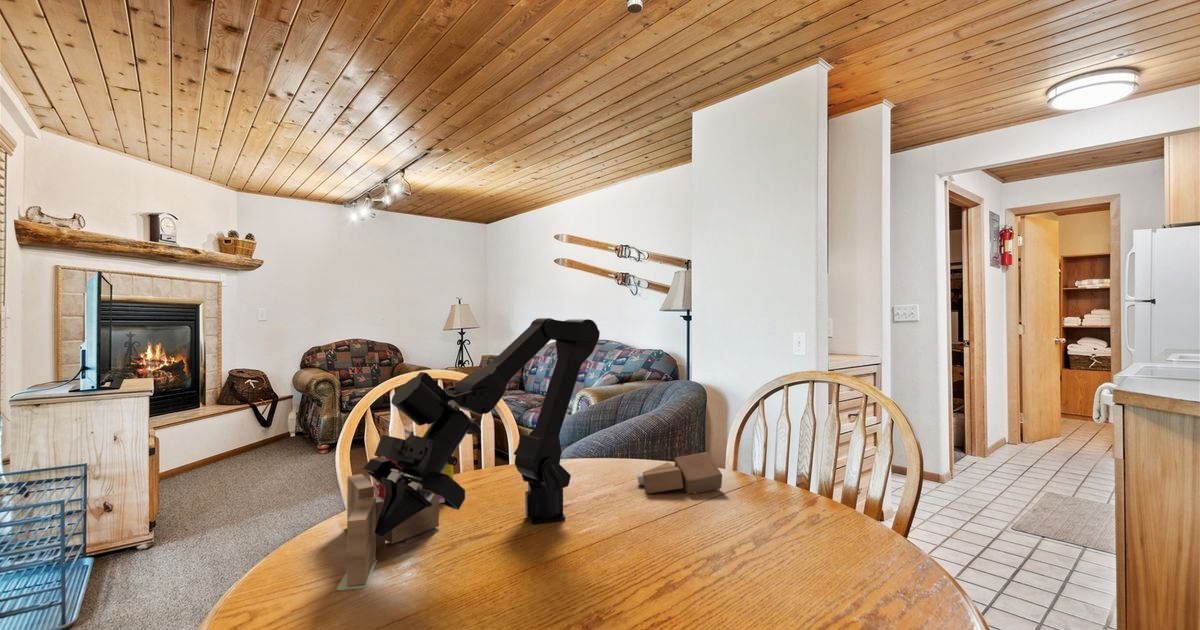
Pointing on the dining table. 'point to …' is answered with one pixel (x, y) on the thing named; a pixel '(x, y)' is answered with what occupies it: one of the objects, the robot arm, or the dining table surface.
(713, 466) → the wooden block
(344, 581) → the seat pad
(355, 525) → the hinged leg
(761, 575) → the dining table surface
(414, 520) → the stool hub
